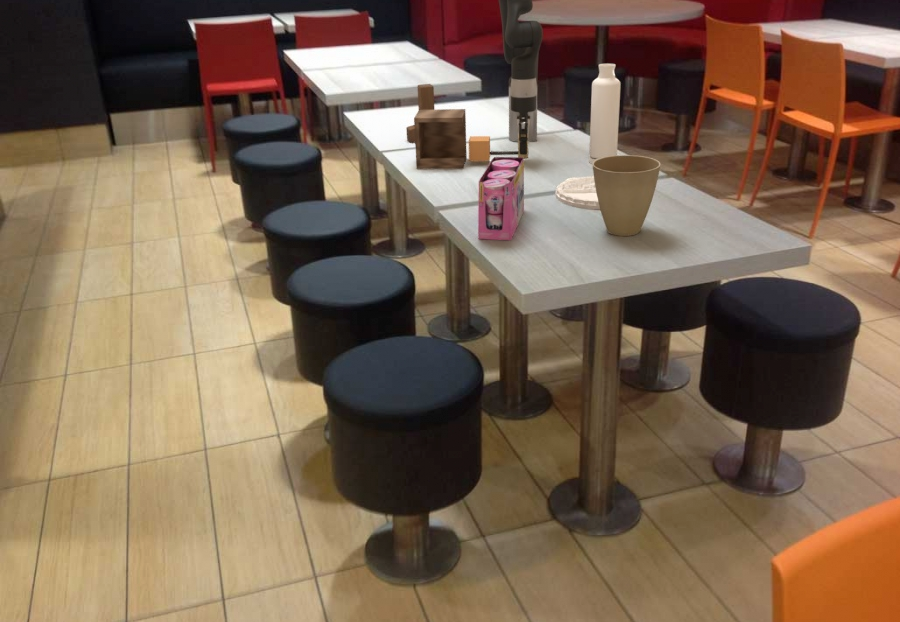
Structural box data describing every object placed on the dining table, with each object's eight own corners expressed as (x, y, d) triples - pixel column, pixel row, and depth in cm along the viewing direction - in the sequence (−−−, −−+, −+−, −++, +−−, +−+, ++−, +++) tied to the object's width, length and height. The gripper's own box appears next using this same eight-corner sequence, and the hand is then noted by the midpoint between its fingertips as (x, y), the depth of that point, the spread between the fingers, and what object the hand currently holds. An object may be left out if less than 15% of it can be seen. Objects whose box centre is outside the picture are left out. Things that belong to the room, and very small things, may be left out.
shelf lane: (466, 158, 257) (465, 109, 251) (463, 168, 246) (462, 117, 240) (421, 158, 258) (419, 109, 252) (416, 168, 248) (414, 118, 241)
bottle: (614, 166, 243) (619, 67, 231) (586, 164, 246) (590, 66, 234) (618, 159, 250) (623, 63, 238) (591, 157, 252) (595, 62, 241)
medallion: (586, 216, 204) (587, 207, 203) (532, 189, 226) (532, 180, 225) (665, 202, 212) (666, 193, 211) (605, 176, 235) (606, 168, 234)
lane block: (528, 155, 252) (528, 125, 248) (528, 160, 247) (528, 129, 243) (470, 156, 254) (469, 126, 250) (469, 161, 248) (468, 130, 244)
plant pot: (623, 216, 202) (627, 151, 195) (669, 232, 190) (675, 164, 184) (576, 229, 195) (578, 162, 188) (620, 246, 183) (624, 176, 177)
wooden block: (409, 143, 277) (406, 87, 270) (406, 140, 281) (403, 85, 274) (436, 140, 279) (433, 85, 272) (432, 137, 283) (430, 83, 276)
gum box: (511, 243, 188) (510, 184, 182) (476, 241, 190) (475, 183, 184) (524, 210, 209) (524, 156, 203) (493, 209, 211) (492, 156, 205)
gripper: (536, 98, 235) (536, 158, 242) (536, 89, 248) (535, 146, 255) (509, 98, 235) (510, 158, 242) (511, 89, 248) (511, 146, 255)
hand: (523, 151), depth 249 cm, fingers open, 4 cm apart
